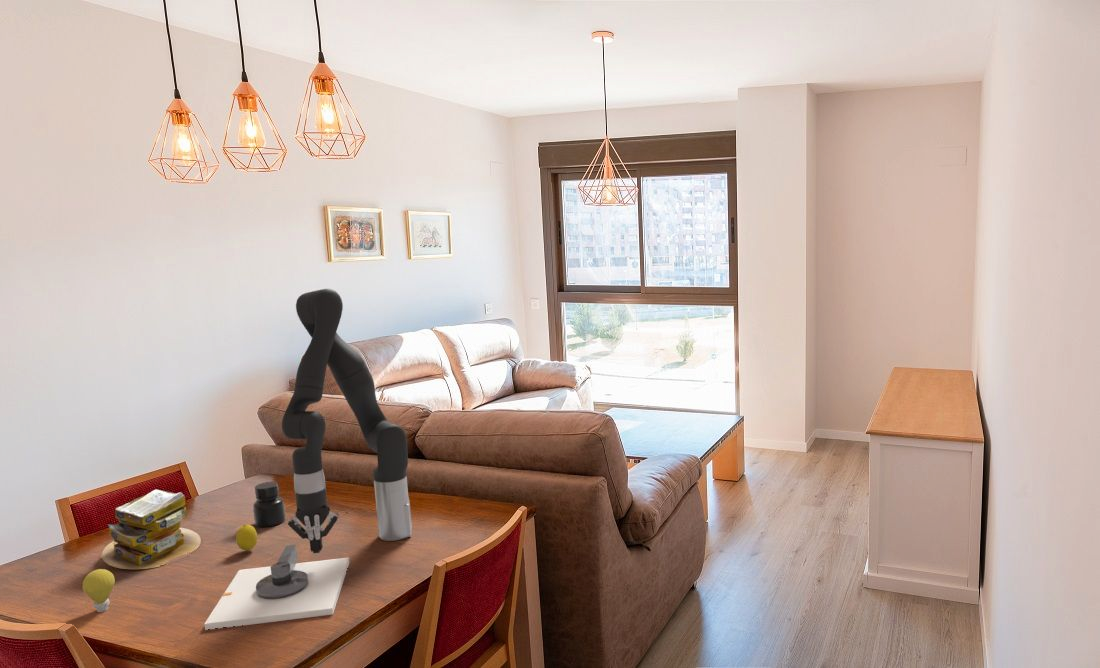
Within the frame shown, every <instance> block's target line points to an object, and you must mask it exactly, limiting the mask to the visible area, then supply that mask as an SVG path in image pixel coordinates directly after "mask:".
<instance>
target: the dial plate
mask: <svg viewBox="0 0 1100 668" xmlns="http://www.w3.org/2000/svg"><path fill="white" fill-rule="evenodd" d="M271 566H272V565H270V566H262V567H253V568H252V567H251V568H245V569H239V570H238V571H237V573H236V574H235V576H234V577H233V579H232V581H230V583H229V585H228V586H227V588H226V589H225V591H224V592H223V594H222V596H221V597H220V598H219V601H218V602H217V604H216V605H215V607H214V608H213V610H212V612H211V613H210V614H209V616H208V618H207V619H206V620H205V622H204V631H209V630H208V629H210V630H216V629H215V628H218V629H224V628H223V627H227V628H233V626H235V627H241V626H242V625H243V626H249V625H257V624H259V625H260V624H267V623H275V622H283V621H289V620H291V621H292V620H298V619H307V618H315V617H323V616H332V615H334V612H335V609H336V605H337V602H338V600H339V596H340V593H341V591H342V588H343V584H344V581H345V578H346V575H347V572H346V571H348V569H347V568H349V566H350V557H342V558H333V559H324V560H314V561H307V562H305V561H304V562H296V564H295V566H294V568H293V570H298V571H303V572H305V573H306V574H307V575H308V585H307V586H306V587H305V588H304V589H303V590H301V591H300V592H298V593H296V594H293V595H291V596H287V597H283V598H277V599H265V598H261V597H259V596H258V595H257V593H256V584H257V583H258V582H259V581H260V580H261V579H263V578H265V577H267V576H269V575H271Z"/></svg>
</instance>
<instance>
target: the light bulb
mask: <svg viewBox="0 0 1100 668" xmlns="http://www.w3.org/2000/svg"><path fill="white" fill-rule="evenodd" d="M115 583H116V582H115V576H114V574H113V573H112V572H111V571H109V570H108V569H103V568H99V569H95V570H92V571H91V572H89V573H88V574H87V575H86V576H85V578H84V579H83V581H82V590H83V592H84V593H85V594H86V595H87V596H88V598H90V599H91V600H92V601H93V602H94V603H93V607H94V609H96V612H98V613H102V612H105V611H107V610H108V609H109V605H110V599H109V597H110V595H111V594H112V593H111V592H112V591H113V588H114V585H115Z"/></svg>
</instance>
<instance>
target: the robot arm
mask: <svg viewBox="0 0 1100 668" xmlns="http://www.w3.org/2000/svg"><path fill="white" fill-rule="evenodd" d="M343 308H344V305H343V300H342V298H341V295H340V293H338V292H337V291H336V290H334V289H331V288H323V289H318V290H317V289H316V290H314V291H313V290H312V291H309V292H304V293H302V294H301V295H300V296H298V298H297V299H296V303H295V310H296V314H297V317H298V318H299V321H300V322H301V324H302V325H303V327H304V329H305V330H306V331H307V333H308V335H309V336H310V338H311V340H310V343H309V345H308V347H307V348H306V350H305V352H304V354H303V356H302V358H301V359H300V362H299V365H298V367H297V372H296V375H295V382H294V389H293V393H292V396H291V398H290V401H289V402H288V405H287V407H286V409H285V412H284V413H283V417H282V419H281V420H282V421H281V430H282V433H283V435H284V436H285V437H286V438H288V439H290V440H306V443H305V446H301V447H297V448H296V449H295V450H293V452H292V466H293V467H292V468H293V489H294V493H295V494H294V495H295V504H296V506H295V507H296V511H295V514H294V516H293V517H291V518H289V519H288V522H287V525H288V526H289V527H290V528H291V530H293V531H294V532H295V534H297V535H298V536H299V537H300V538H302V539H303V540H306V539H307V540H309V541H308V542H309V547H310V551H311V552H312V554H320V552H321V551H322V550H323V547H324V546H323V538H324V537H327V536H328V534H329V532H330V531H331V530H332V529H333V527H334V525H335V524H336V522H337V521H338V519H339V516H340V515H339V513H335V512H332V511H331V508H330V507H329V505H328V498H327V497H328V496H327V488H326V487H327V486H326V478H325V473H324V470H323V461H322V459H323V458H322V450H323V443H324V438H325V431H326V420H325V417H324V416H323V415H322V414H321V413H320V412H318V411H315V410H309V411H308V410H307V408H308V407H309V406H310V405H313V404H316V403H319V402H321V400H322V399H323V398H322V397H323V393H324V385H325V378H326V371H327V368H329V371H330V372H331V374H332V376H333V378H334V381H335V382H336V384H337V386H338V388H339V390H340V392H341V393H342V395H343V397H344V398H345V400H346V402H347V404H348V405H349V407H350V409H351V410H352V412H353V414H354V416H355V418H356V420H357V422H358V425H359V427H360V431H361V432H362V435H363V438H364V441H365V442H366V445H367V447H368V448H369V449H370V450H371V451H373V452H375V453H376V456H377V466H376V467H374V469H373V471H372V473H373V474H372V475H373V487H374V496H375V497H374V498H375V506H376V517H377V527H378V538H379V539H380V540H382V541H386V542H387V541H388V542H391V541H392V542H394V541H399V540H403V539H406V538H409V537H410V538H411V537H412V532H413V524H412V514H411V502H410V498H409V492H408V491H409V489H408V477H407V469H408V466H409V465H408V464H409V455H408V438H407V434H406V432H405V430H404V429H403V428H402V427H401V426H400V425H397V424H395V423H392V422H390V421H389V420H388V418H387V417H386V416H385V414H384V412H383V411H382V409H381V407H380V405H379V404H378V403H379V402H378V400H377V396H376V395H377V394H376V389H375V388H376V387H375V381H374V379H373V376H372V374H371V371H370V370H369V367H368V365H367V363H366V362H365V360H364V358H363V357H362V355H360V353H359V352H358V351H356V349H354V348H353V347H352V346H351V345H350V344H349V343H347V342H346V341H345V340H344V339H343V338H341V336H340V335H339V334H338V333H337V331H338V327H339V325H340V321H341V318H342V316H343V315H342V314H343ZM327 517H328V518H327ZM326 519H328V520H327V521H328V523H327V524H326V526H325V528H322V527H323V524H324V523H325V521H326ZM300 523H301V524H302V525H303V526H302V525H301V524H300ZM305 528H306V529H305ZM322 529H323V530H322Z"/></svg>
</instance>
